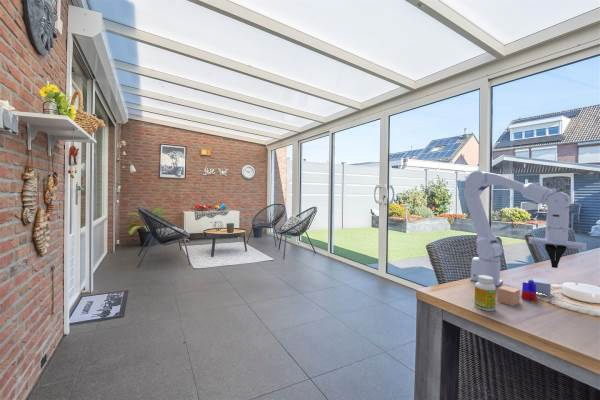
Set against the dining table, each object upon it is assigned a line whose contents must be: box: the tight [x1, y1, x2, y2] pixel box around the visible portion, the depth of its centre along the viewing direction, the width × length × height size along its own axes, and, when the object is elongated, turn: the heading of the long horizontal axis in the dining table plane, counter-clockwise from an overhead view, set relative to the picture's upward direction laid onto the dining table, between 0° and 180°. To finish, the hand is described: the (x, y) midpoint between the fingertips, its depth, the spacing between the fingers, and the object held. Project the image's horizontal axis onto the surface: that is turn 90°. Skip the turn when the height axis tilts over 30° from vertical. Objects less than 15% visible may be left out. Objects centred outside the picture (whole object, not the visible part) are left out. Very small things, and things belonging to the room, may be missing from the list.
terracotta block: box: [496, 285, 521, 307], centre depth 93 cm, size 4×4×4 cm
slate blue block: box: [531, 277, 552, 297], centre depth 101 cm, size 4×4×4 cm
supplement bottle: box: [473, 275, 497, 312], centre depth 88 cm, size 5×5×10 cm
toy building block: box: [521, 279, 537, 302], centre depth 96 cm, size 4×4×8 cm
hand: (554, 267), depth 98 cm, fingers closed
